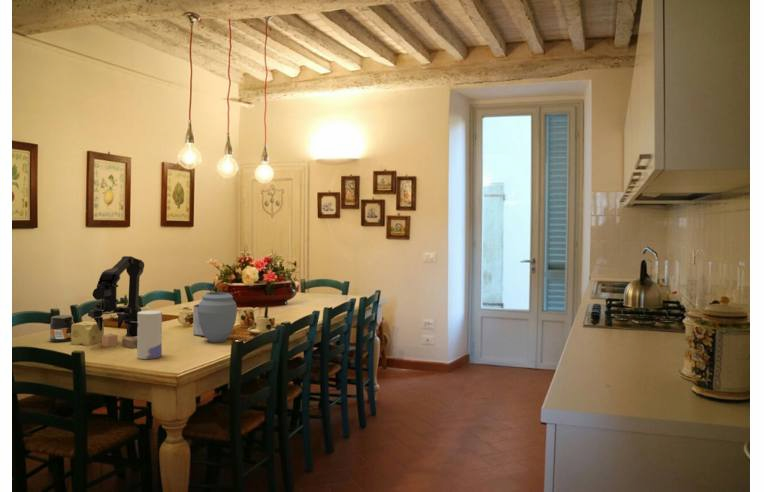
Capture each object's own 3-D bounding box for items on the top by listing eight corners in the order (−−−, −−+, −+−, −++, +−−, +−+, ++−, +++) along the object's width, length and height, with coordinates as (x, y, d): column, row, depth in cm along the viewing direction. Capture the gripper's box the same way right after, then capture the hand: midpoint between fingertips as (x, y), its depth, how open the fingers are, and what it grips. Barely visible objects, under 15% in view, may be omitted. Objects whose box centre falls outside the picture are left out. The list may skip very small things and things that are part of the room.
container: (141, 354, 257) (141, 310, 256) (164, 354, 258) (164, 310, 257) (133, 359, 247) (134, 313, 246) (157, 359, 248) (157, 313, 247)
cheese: (89, 345, 272) (89, 325, 272) (69, 344, 274) (69, 323, 274) (104, 341, 282) (104, 321, 282) (85, 340, 284) (85, 320, 284)
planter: (186, 335, 302) (186, 306, 301) (206, 330, 317) (206, 302, 316) (210, 338, 296) (211, 308, 295) (230, 332, 311) (230, 304, 310)
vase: (244, 339, 295) (245, 292, 294) (222, 346, 276) (222, 296, 275) (212, 336, 301) (213, 290, 300) (188, 342, 283) (189, 294, 282)
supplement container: (57, 343, 275) (57, 319, 274) (45, 341, 280) (45, 316, 280) (78, 340, 284) (78, 316, 283) (67, 337, 289) (67, 314, 289)
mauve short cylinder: (137, 344, 278) (137, 335, 278) (146, 346, 274) (146, 338, 273) (121, 346, 272) (122, 338, 272) (130, 349, 267) (130, 340, 267)
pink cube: (111, 343, 277) (111, 333, 277) (117, 345, 275) (117, 334, 274) (101, 345, 273) (101, 335, 273) (107, 346, 271) (107, 336, 270)
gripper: (118, 294, 285) (118, 324, 286) (81, 297, 270) (81, 330, 271) (131, 296, 279) (131, 327, 280) (94, 299, 264) (94, 333, 264)
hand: (109, 329), depth 274 cm, fingers open, 9 cm apart
